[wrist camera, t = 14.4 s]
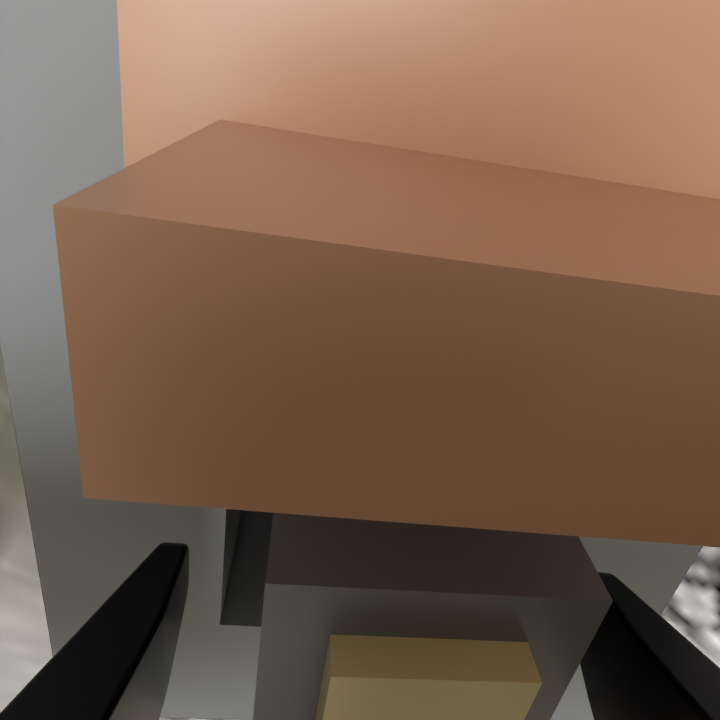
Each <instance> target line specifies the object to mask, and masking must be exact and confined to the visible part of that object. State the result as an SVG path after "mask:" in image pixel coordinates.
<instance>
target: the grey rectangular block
mask: <svg viewBox="0 0 720 720" xmlns="http://www.w3.org/2000/svg"><path fill="white" fill-rule="evenodd" d="M612 602H613V600H612V598H611V596H610V594H609V593H608V591H607V589H606V587H605V585H604V583H603V581H602V580H601V578H600V576H599V574H598V572H597V570H596V568H595V567H594V565H593V563H592V561H591V559H590V557H589V555H588V553H587V552H586V550H585V548H584V546H583V544H582V542H581V540H580V539H579V537H578V536H568V535H555V534H542V533H529V532H516V531H503V530H491V529H478V528H465V527H452V526H439V525H426V524H413V523H400V522H387V521H375V520H362V519H349V518H336V517H323V516H310V515H297V514H284V513H273V519H272V527H271V536H270V545H269V554H268V562H267V571H266V580H265V590H264V601H263V612H262V624H261V635H260V646H259V657H258V668H257V679H256V691H255V702H254V713H253V720H550V719H551V717H552V715H553V713H554V711H555V709H556V708H557V706H558V704H559V702H560V700H561V698H562V696H563V694H564V692H565V691H566V689H567V687H568V685H569V683H570V681H571V679H572V677H573V675H574V674H575V672H576V670H577V668H578V666H579V664H580V662H581V660H582V658H583V657H584V655H585V653H586V651H587V649H588V647H589V645H590V643H591V641H592V640H593V638H594V636H595V634H596V632H597V630H598V628H599V626H600V624H601V623H602V621H603V619H604V617H605V615H606V613H607V611H608V609H609V608H610V606H611V604H612Z"/></svg>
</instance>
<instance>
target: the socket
mask: <svg viewBox="0 0 720 720" xmlns="http://www.w3.org/2000/svg"><path fill="white" fill-rule="evenodd" d="M122 169H124V152H123V129H122V106H121V84H120V61H119V38H118V15H117V0H0V345H1V351H2V357H3V363H4V369H5V375H6V381H7V387H8V393H9V399H10V405H11V411H12V417H13V423H14V428H15V434H16V440H17V446H18V452H19V458H20V464H21V470H22V476H23V482H24V488H25V494H26V500H27V506H28V512H29V517H30V523H31V529H32V535H33V541H34V547H35V553H36V559H37V565H38V571H39V577H40V583H41V589H42V595H43V601H44V606H45V612H46V618H47V624H48V630H49V636H50V642H51V648H52V654H53V657H54V655H55V654H56V653H57V652H58V651H59V650H60V649H61V648H62V647H63V646H64V645H65V644H66V643H67V642H68V641H69V640H70V638H71V637H72V636H73V635H74V634H75V633H76V632H77V631H78V630H79V629H80V628H81V627H82V626H83V625H84V624H85V622H86V621H87V620H88V619H89V618H90V617H91V616H92V615H93V614H94V613H95V612H96V611H97V610H98V609H99V608H100V607H101V605H102V604H103V603H104V602H105V601H106V600H107V599H108V598H109V597H110V596H111V595H112V594H113V593H114V592H115V591H116V590H117V588H118V587H119V586H120V585H121V584H122V583H123V582H124V581H125V580H126V579H127V578H128V577H129V576H130V575H131V574H132V572H133V571H134V570H135V569H136V568H137V567H138V566H139V565H140V564H141V563H142V562H143V561H144V560H145V559H146V558H147V557H148V555H149V554H150V553H151V552H152V551H153V550H154V549H155V548H156V547H157V546H158V545H159V544H161V543H163V542H170V543H184V544H187V545H188V547H189V585H188V592H187V598H186V603H185V608H184V612H183V617H182V622H181V627H180V632H179V637H178V641H177V646H176V651H175V656H174V661H173V665H172V670H171V675H170V680H169V684H168V689H167V693H166V697H165V701H164V704H163V708H162V711H161V714H160V717H166V718H196V719H226V720H253V713H254V702H255V691H256V679H257V668H258V657H259V646H260V635H261V624H262V612H263V601H264V590H265V580H266V571H267V562H268V554H269V545H270V536H271V527H272V519H273V513H272V512H259V511H246V510H233V509H220V508H207V507H194V506H181V505H168V504H156V503H143V502H130V501H117V500H104V499H91V498H83V490H82V480H81V471H80V461H79V452H78V442H77V433H76V423H75V414H74V404H73V395H72V385H71V376H70V366H69V357H68V347H67V338H66V328H65V318H64V309H63V299H62V290H61V280H60V271H59V261H58V252H57V242H56V233H55V223H54V214H53V204H55V203H57V202H59V201H61V200H63V199H65V198H67V197H69V196H71V195H73V194H75V193H76V192H78V191H80V190H82V189H84V188H86V187H88V186H90V185H92V184H94V183H96V182H98V181H100V180H102V179H104V178H106V177H108V176H110V175H112V174H114V173H116V172H118V171H120V170H122ZM578 537H579V539H580V540H581V542H582V544H583V546H584V548H585V550H586V552H587V553H588V555H589V557H590V559H591V561H592V563H593V565H594V567H595V568H596V570H597V572H604V573H610V574H613V575H614V576H616V577H617V578H618V579H619V580H620V581H621V582H623V583H624V584H625V585H626V586H627V587H628V588H629V589H631V590H632V591H633V592H634V593H635V594H636V595H637V596H639V597H640V598H641V599H642V600H643V601H644V602H645V603H646V604H648V605H649V606H650V607H651V608H652V609H653V610H654V611H656V612H657V613H658V614H659V615H661V614H662V612H663V610H664V609H665V607H666V605H667V604H668V602H669V601H670V599H671V597H672V596H673V594H674V592H675V591H676V589H677V588H678V586H679V584H680V583H681V581H682V579H683V578H684V576H685V575H686V573H687V571H688V570H689V568H690V566H691V565H692V563H693V562H694V560H695V558H696V557H697V555H698V553H699V552H700V550H701V549H702V547H703V546H697V545H684V544H671V543H658V542H645V541H632V540H619V539H607V538H594V537H581V536H578ZM550 720H594V718H593V715H592V711H591V707H590V703H589V700H588V696H587V691H586V687H585V683H584V679H583V675H582V670H581V666H580V664H579V666H578V668H577V670H576V672H575V674H574V675H573V677H572V679H571V681H570V683H569V685H568V687H567V689H566V691H565V692H564V694H563V696H562V698H561V700H560V702H559V704H558V706H557V708H556V709H555V711H554V713H553V715H552V717H551V719H550Z"/></svg>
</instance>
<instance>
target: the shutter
mask: <svg viewBox="0 0 720 720" xmlns="http://www.w3.org/2000/svg"><path fill="white" fill-rule="evenodd" d="M117 15H118V38H119V61H120V84H121V106H122V129H123V152H124V169H122V170H120V171H118V172H116V173H114V174H112V175H110V176H108V177H106V178H104V179H102V180H100V181H98V182H96V183H94V184H92V185H90V186H88V187H86V188H84V189H82V190H80V191H78V192H76V193H75V194H73V195H71V196H69V197H67V198H65V199H63V200H61V201H59V202H57V203H55V204H53V214H54V223H55V233H56V242H57V252H58V261H59V271H60V280H61V290H62V299H63V309H64V318H65V328H66V338H67V347H68V357H69V366H70V376H71V385H72V395H73V404H74V414H75V423H76V433H77V442H78V452H79V461H80V471H81V480H82V490H83V498H91V499H104V500H117V501H130V502H143V503H156V504H168V505H181V506H194V507H207V508H220V509H233V510H246V511H259V512H272V513H284V514H297V515H310V516H323V517H336V518H349V519H362V520H375V521H387V522H400V523H413V524H426V525H439V526H452V527H465V528H478V529H491V530H503V531H516V532H529V533H542V534H555V535H568V536H581V537H594V538H607V539H619V540H632V541H645V542H658V543H671V544H684V545H697V546H710V547H720V0H117Z"/></svg>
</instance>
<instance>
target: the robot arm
mask: <svg viewBox="0 0 720 720" xmlns="http://www.w3.org/2000/svg"><path fill="white" fill-rule="evenodd" d="M598 574H599V576H600V578H601V580H602V581H603V583H604V585H605V587H606V589H607V591H608V593H609V594H610V596H611V598H612V600H613V602H612V604H611V606H610V608H609V609H608V611H607V613H606V615H605V617H604V619H603V621H602V623H601V624H600V626H599V628H598V630H597V632H596V634H595V636H594V638H593V640H592V641H591V643H590V645H589V647H588V649H587V651H586V653H585V655H584V657H583V658H582V660H581V662H580V666H581V670H582V675H583V679H584V683H585V687H586V691H587V696H588V700H589V703H590V707H591V711H592V715H593V718H594V720H720V668H719V667H718V666H717V665H716V664H715V663H713V662H712V661H711V660H710V659H709V658H708V657H707V656H706V655H704V654H703V653H702V652H701V651H700V650H699V649H698V648H696V647H695V646H694V645H693V644H692V643H691V642H690V641H688V640H687V639H686V638H685V637H684V636H683V635H682V634H681V633H679V632H678V631H677V630H676V629H675V628H674V627H673V626H671V625H670V624H669V623H668V622H667V621H666V620H665V619H664V618H662V617H661V616H660V615H659V614H658V613H657V612H656V611H654V610H653V609H652V608H651V607H650V606H649V605H648V604H646V603H645V602H644V601H643V600H642V599H641V598H640V597H639V596H637V595H636V594H635V593H634V592H633V591H632V590H631V589H629V588H628V587H627V586H626V585H625V584H624V583H623V582H621V581H620V580H619V579H618V578H617V577H616V576H614V575H613V574H610V573H604V572H598ZM188 585H189V547H188V545H187V544H184V543H170V542H163V543H161V544H159V545H158V546H157V547H156V548H155V549H154V550H153V551H152V552H151V553H150V554H149V555H148V557H147V558H146V559H145V560H144V561H143V562H142V563H141V564H140V565H139V566H138V567H137V568H136V569H135V570H134V571H133V572H132V574H131V575H130V576H129V577H128V578H127V579H126V580H125V581H124V582H123V583H122V584H121V585H120V586H119V587H118V588H117V590H116V591H115V592H114V593H113V594H112V595H111V596H110V597H109V598H108V599H107V600H106V601H105V602H104V603H103V604H102V605H101V607H100V608H99V609H98V610H97V611H96V612H95V613H94V614H93V615H92V616H91V617H90V618H89V619H88V620H87V621H86V622H85V624H84V625H83V626H82V627H81V628H80V629H79V630H78V631H77V632H76V633H75V634H74V635H73V636H72V637H71V638H70V640H69V641H68V642H67V643H66V644H65V645H64V646H63V647H62V648H61V649H60V650H59V651H58V652H57V653H56V654H55V655H54V657H53V658H52V659H51V660H50V661H49V662H48V663H47V664H46V665H45V666H44V667H43V668H42V669H41V670H40V671H39V672H38V674H37V675H36V676H35V677H34V678H33V679H32V680H31V681H30V682H29V683H28V684H27V685H26V686H25V687H24V688H23V690H22V691H21V692H20V693H19V694H18V695H17V696H16V697H15V698H14V699H13V700H12V701H11V702H10V703H9V704H8V705H7V707H6V708H5V709H4V710H3V711H2V712H1V713H0V720H159V718H160V714H161V711H162V708H163V704H164V701H165V697H166V693H167V689H168V684H169V680H170V675H171V670H172V665H173V661H174V656H175V651H176V646H177V641H178V637H179V632H180V627H181V622H182V617H183V612H184V608H185V603H186V598H187V592H188Z"/></svg>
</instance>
